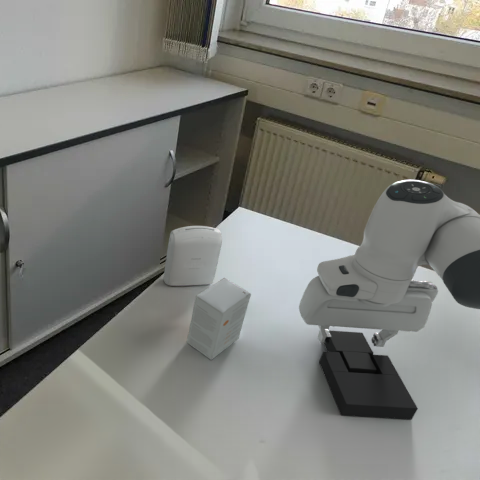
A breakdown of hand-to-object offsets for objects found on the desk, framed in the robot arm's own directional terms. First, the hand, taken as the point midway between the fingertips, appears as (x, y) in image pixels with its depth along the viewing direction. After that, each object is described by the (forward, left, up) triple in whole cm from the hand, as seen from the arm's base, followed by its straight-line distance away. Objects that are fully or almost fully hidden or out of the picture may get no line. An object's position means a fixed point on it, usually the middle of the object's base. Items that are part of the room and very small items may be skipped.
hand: (349, 342), depth 92 cm
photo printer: (+14, -28, -2) cm, 31 cm away
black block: (+1, +2, -2) cm, 3 cm away
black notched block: (+4, +7, -2) cm, 9 cm away
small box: (+20, -12, -2) cm, 23 cm away
